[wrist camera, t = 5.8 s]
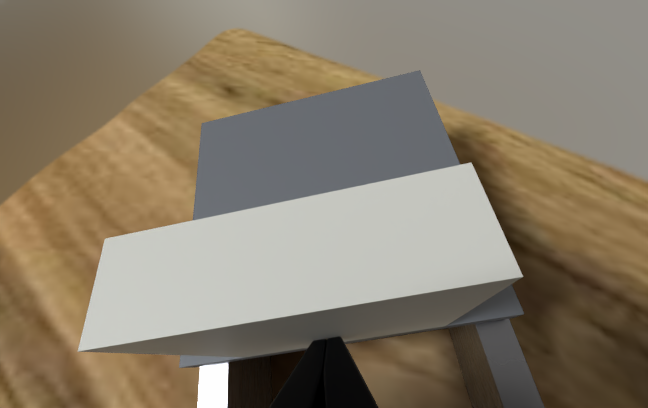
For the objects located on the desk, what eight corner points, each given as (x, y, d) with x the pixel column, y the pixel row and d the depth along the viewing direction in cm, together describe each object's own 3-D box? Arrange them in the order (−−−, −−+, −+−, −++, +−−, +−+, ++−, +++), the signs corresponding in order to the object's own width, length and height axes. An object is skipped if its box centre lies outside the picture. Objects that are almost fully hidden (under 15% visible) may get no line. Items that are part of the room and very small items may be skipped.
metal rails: (566, 597, 11) (683, 753, 7) (251, 617, 12) (175, 759, 8) (415, 158, 21) (422, 104, 16) (248, 194, 22) (213, 152, 17)
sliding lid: (513, 317, 11) (720, 243, 4) (194, 367, 12) (-52, 372, 5) (418, 86, 16) (438, -102, 10) (210, 135, 18) (104, -2, 11)
